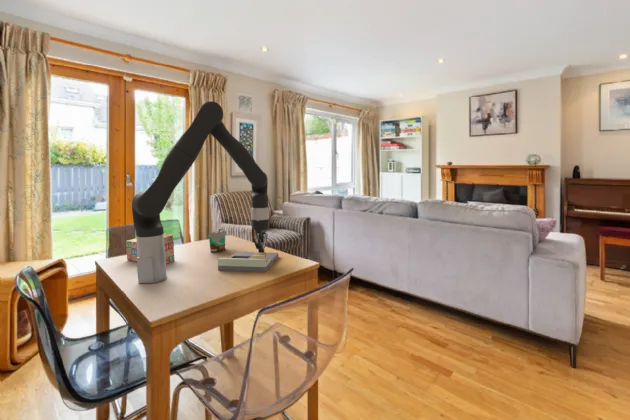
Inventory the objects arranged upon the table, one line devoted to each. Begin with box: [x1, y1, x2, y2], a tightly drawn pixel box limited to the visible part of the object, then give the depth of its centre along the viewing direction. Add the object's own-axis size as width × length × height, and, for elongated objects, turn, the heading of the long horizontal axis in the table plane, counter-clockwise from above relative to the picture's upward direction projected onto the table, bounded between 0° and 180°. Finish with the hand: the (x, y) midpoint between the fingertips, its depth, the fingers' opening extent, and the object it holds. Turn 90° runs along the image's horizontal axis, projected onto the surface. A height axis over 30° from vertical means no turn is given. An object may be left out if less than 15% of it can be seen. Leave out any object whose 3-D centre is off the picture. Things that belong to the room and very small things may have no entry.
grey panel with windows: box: [217, 251, 279, 273], centre depth 144 cm, size 22×20×5 cm
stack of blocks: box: [125, 233, 175, 265], centre depth 149 cm, size 21×6×12 cm, turn 72°
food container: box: [208, 228, 228, 254], centre depth 166 cm, size 12×6×10 cm, turn 171°
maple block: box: [252, 252, 268, 262], centre depth 137 cm, size 5×5×4 cm
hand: (261, 257), depth 143 cm, fingers closed
